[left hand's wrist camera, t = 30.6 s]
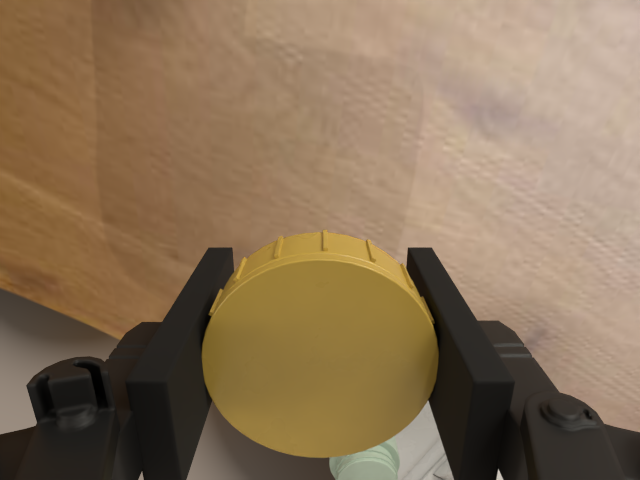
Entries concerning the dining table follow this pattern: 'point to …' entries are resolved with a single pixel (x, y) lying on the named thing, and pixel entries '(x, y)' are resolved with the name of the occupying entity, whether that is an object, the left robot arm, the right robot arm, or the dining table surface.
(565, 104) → the dining table surface
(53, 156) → the dining table surface
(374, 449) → the jar
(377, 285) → the lid
